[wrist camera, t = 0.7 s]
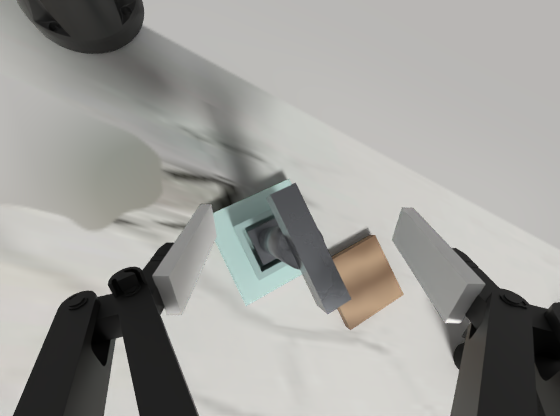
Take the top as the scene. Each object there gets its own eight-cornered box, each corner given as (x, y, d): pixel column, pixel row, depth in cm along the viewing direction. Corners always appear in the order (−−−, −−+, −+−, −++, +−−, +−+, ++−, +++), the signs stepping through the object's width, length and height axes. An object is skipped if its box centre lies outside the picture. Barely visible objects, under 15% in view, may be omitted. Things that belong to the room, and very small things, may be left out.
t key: (240, 219, 34) (250, 203, 15) (270, 205, 35) (313, 174, 16) (266, 274, 34) (308, 326, 15) (296, 258, 35) (368, 288, 16)
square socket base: (205, 218, 35) (200, 215, 29) (286, 181, 38) (295, 173, 33) (245, 301, 35) (247, 314, 29) (322, 258, 38) (337, 262, 32)
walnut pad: (316, 265, 37) (320, 266, 36) (369, 235, 40) (375, 235, 38) (345, 326, 37) (350, 330, 36) (397, 292, 40) (403, 294, 38)
